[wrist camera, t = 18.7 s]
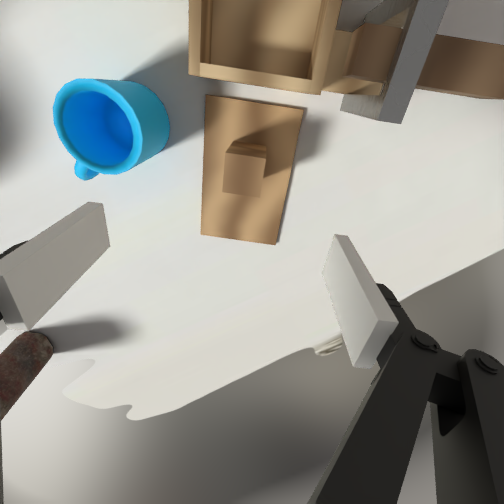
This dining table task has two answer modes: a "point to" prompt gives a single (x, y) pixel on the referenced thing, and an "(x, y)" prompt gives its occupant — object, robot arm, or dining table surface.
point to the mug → (109, 125)
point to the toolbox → (273, 45)
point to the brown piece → (21, 366)
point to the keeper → (400, 57)
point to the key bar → (430, 62)
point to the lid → (246, 167)
